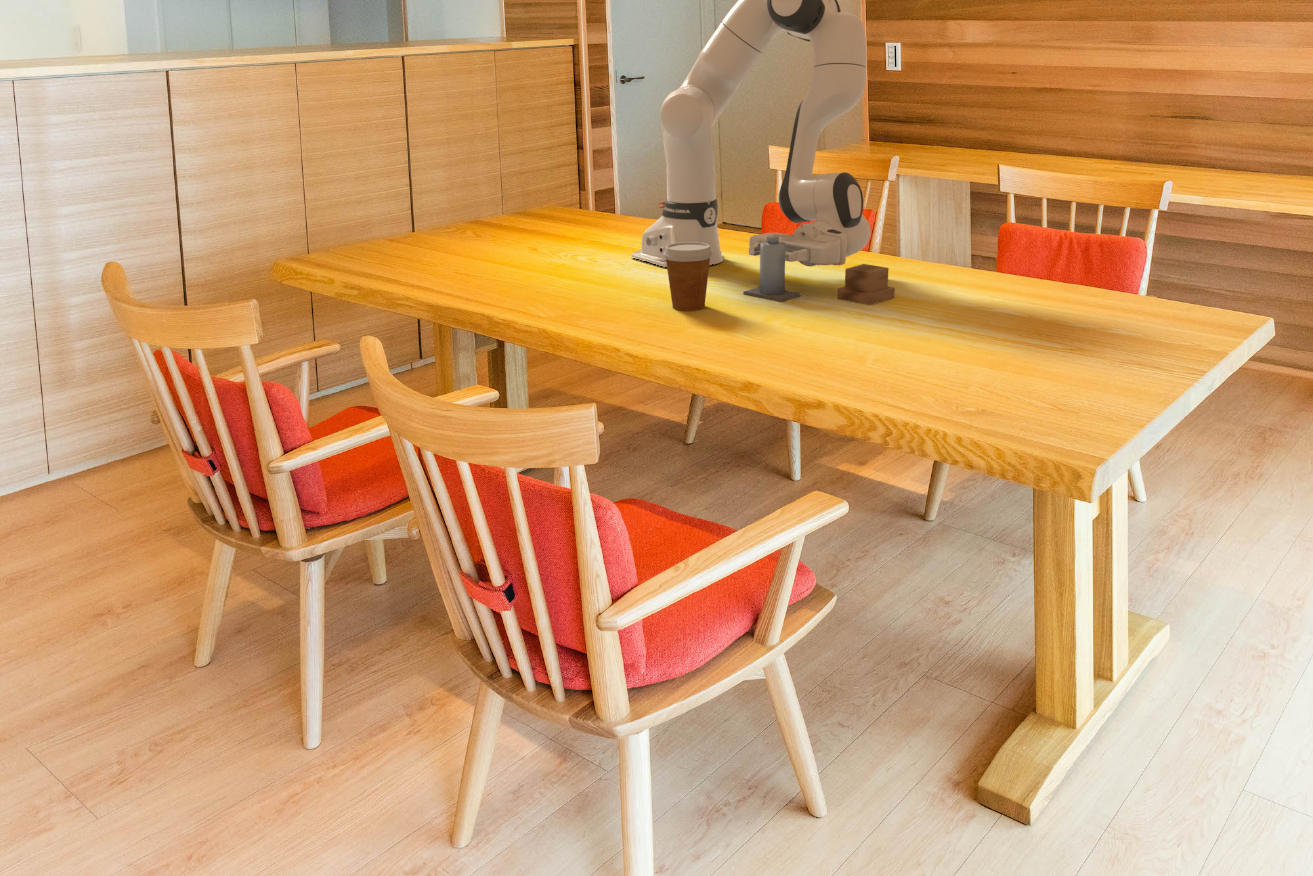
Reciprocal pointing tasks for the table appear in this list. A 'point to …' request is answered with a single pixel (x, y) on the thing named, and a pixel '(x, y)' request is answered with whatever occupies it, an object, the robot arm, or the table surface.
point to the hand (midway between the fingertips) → (769, 254)
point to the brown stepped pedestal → (866, 285)
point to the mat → (782, 297)
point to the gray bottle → (772, 266)
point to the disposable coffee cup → (688, 274)
